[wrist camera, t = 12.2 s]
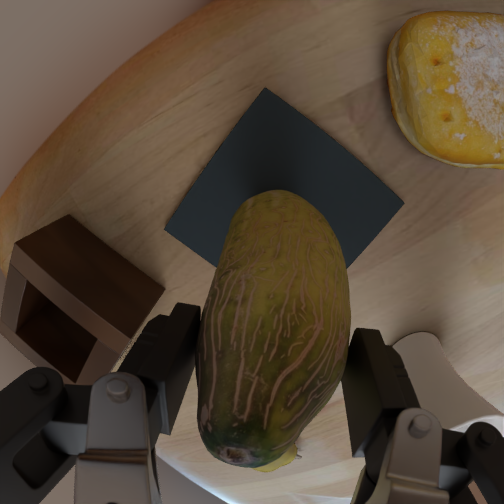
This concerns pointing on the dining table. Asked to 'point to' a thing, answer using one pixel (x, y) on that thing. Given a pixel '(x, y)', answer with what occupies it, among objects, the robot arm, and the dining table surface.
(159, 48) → the dining table surface
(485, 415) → the cup
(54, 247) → the holder
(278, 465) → the fruit
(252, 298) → the vegetable
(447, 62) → the bread
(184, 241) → the mat
